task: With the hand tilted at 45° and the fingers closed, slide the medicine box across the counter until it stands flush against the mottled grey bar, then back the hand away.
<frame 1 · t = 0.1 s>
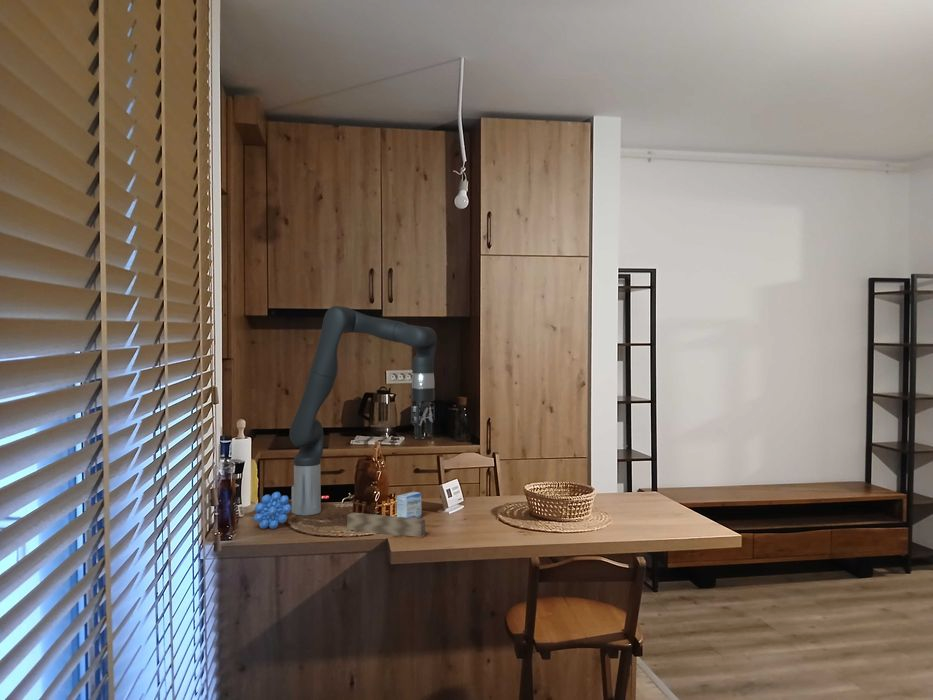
hand: (423, 435, 217), 29 cm above the worktop, tool pointing down, fingers open, 8 cm apart
blue bumpy cluster: (272, 528, 212), on the worktop
medicine box: (409, 519, 223), on the worktop
mottled grey bar: (385, 532, 207), on the worktop
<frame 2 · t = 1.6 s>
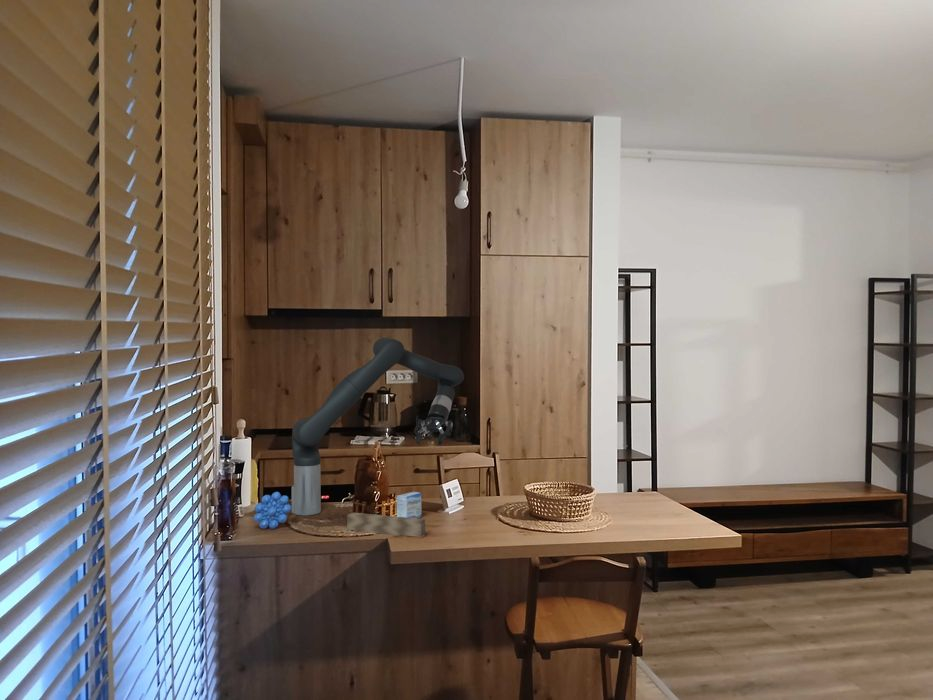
hand: (428, 443, 243), 23 cm above the worktop, tool tilted 45°, fingers open, 8 cm apart
nothing on the worktop moved.
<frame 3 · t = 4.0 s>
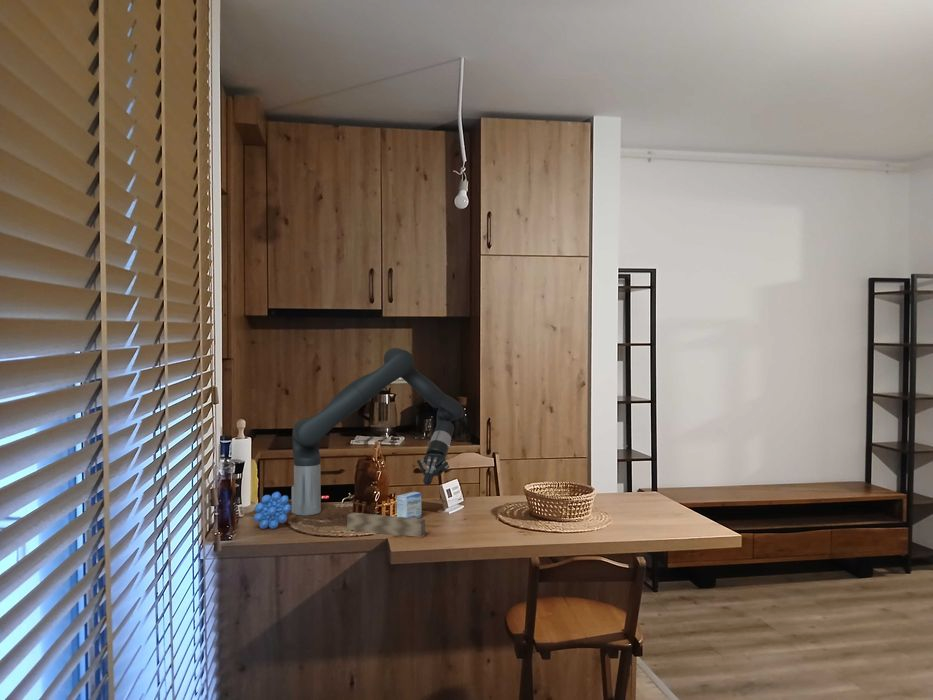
hand: (426, 483, 237), 9 cm above the worktop, tool tilted 45°, fingers closed
nothing on the worktop moved.
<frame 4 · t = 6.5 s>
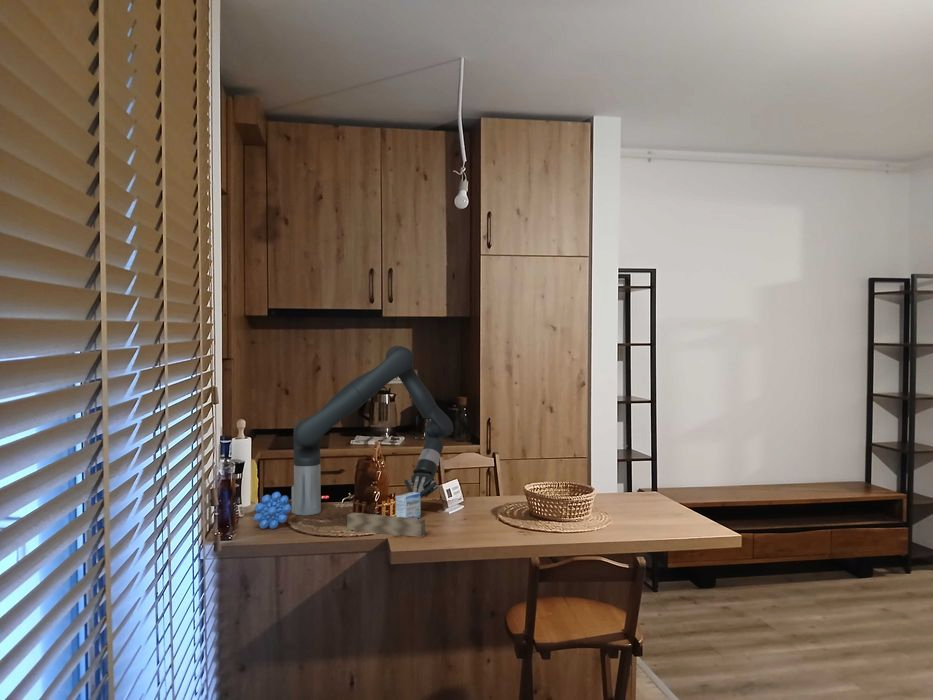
hand: (414, 505, 227), 4 cm above the worktop, tool tilted 45°, fingers closed
medicine box: (408, 520, 222), on the worktop, touching gripper
everything else where it was.
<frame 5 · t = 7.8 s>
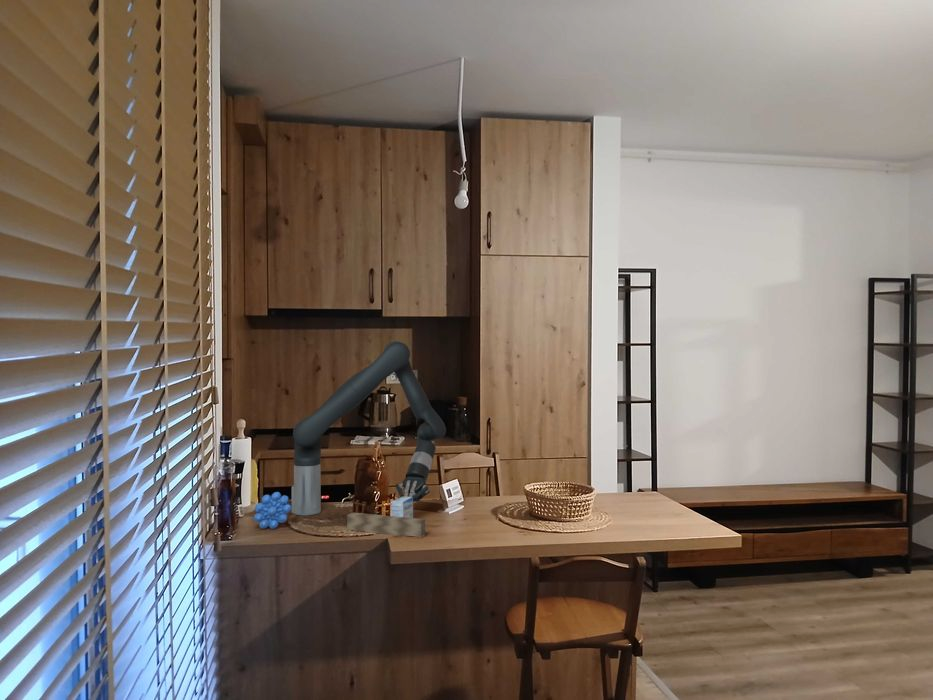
hand: (405, 510, 220), 4 cm above the worktop, tool tilted 45°, fingers closed
medicine box: (402, 525, 215), on the worktop, touching gripper
everything else where it was.
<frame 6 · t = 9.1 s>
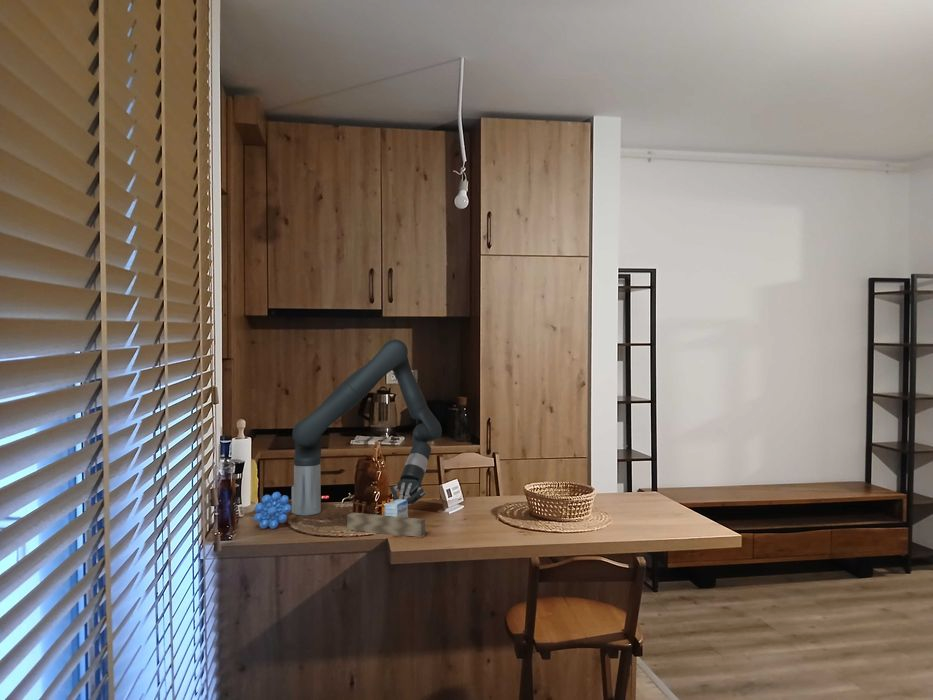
hand: (399, 513, 216), 4 cm above the worktop, tool tilted 45°, fingers closed
medicine box: (396, 529, 211), on the worktop, touching gripper, mottled grey bar
everything else where it was.
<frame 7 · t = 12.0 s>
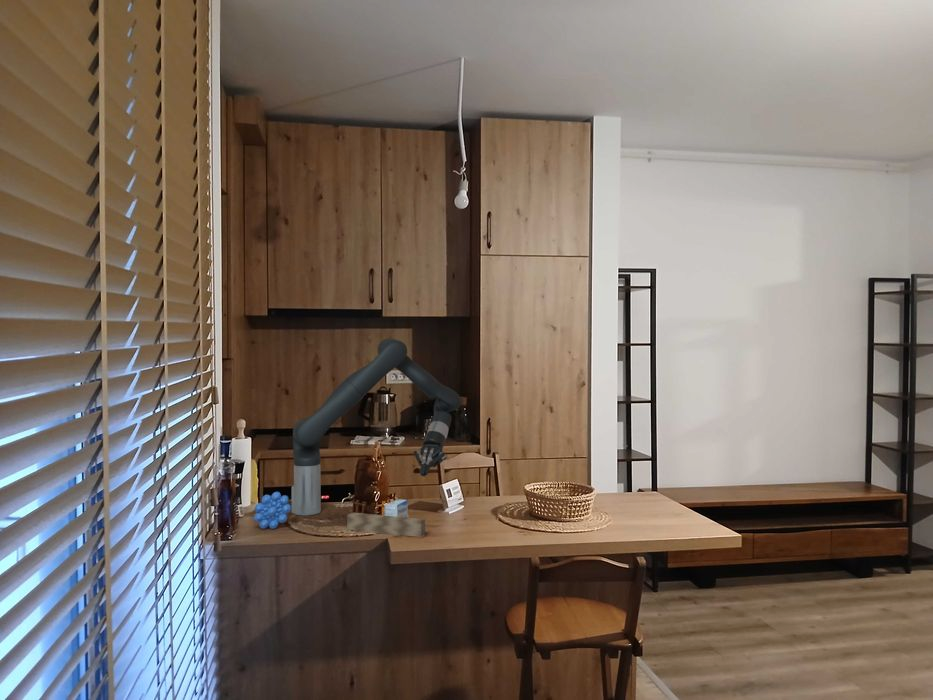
hand: (422, 474, 233), 13 cm above the worktop, tool tilted 45°, fingers closed
medicine box: (396, 529, 211), on the worktop
everything else where it was.
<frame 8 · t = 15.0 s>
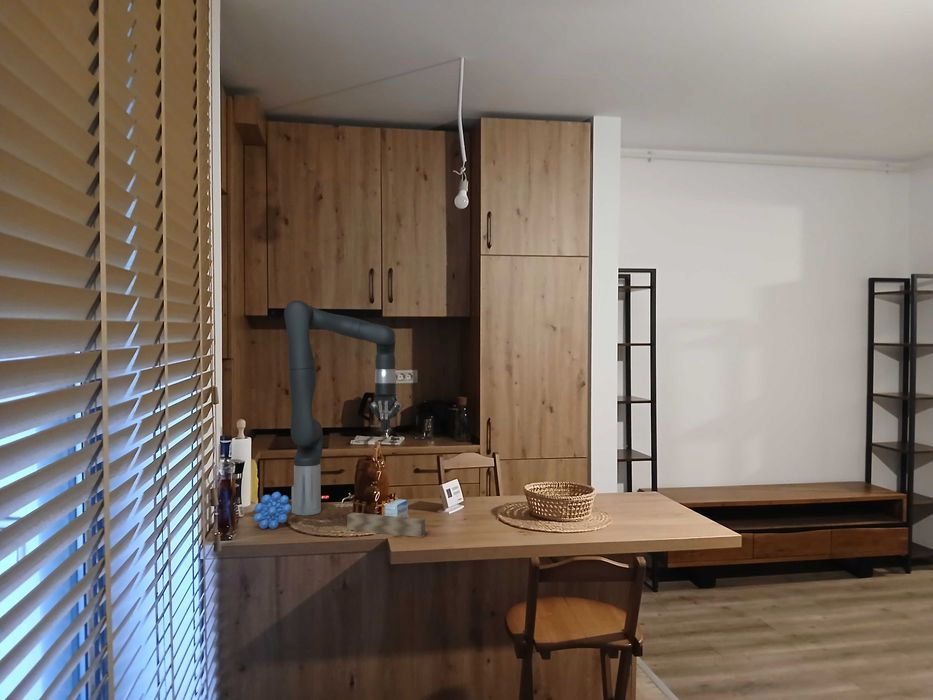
hand: (385, 429, 235), 29 cm above the worktop, tool pointing down, fingers closed
nothing on the worktop moved.
at the end: medicine box inside the target area on the worktop beside the mottled grey bar (1.6 cm from its centre), on the worktop; medicine box tilted 0°; the gripper is holding nothing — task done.
